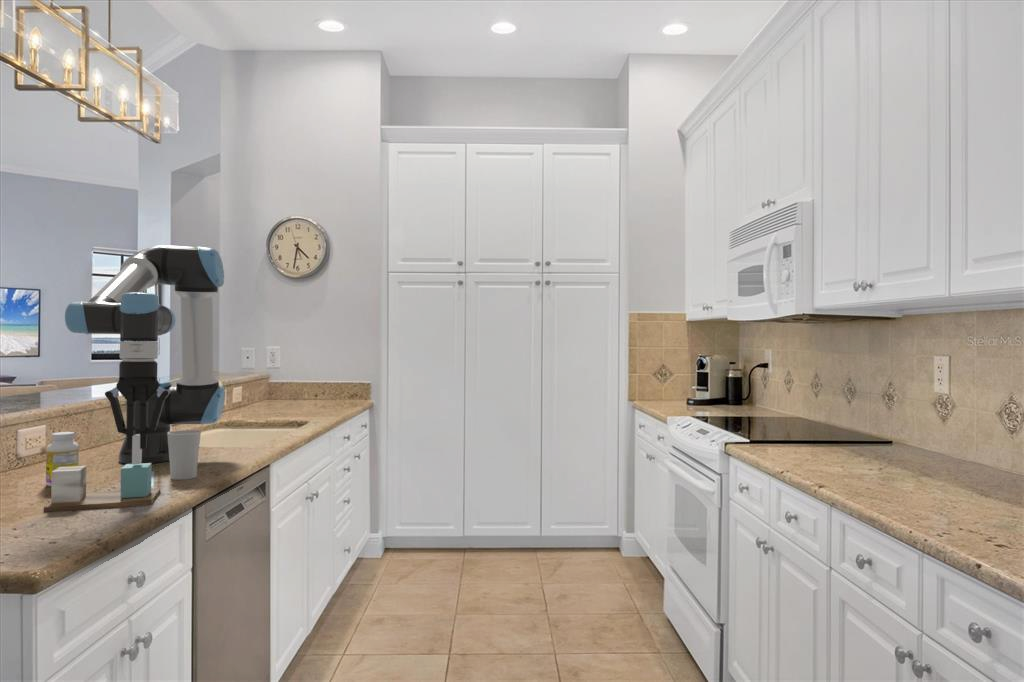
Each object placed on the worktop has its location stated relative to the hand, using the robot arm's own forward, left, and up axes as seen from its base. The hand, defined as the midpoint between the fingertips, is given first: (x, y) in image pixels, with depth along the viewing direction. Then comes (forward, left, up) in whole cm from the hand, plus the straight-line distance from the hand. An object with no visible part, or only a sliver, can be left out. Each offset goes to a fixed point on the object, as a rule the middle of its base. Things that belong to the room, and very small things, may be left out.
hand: (136, 463), depth 144 cm
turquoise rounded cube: (0, 0, -7) cm, 7 cm away
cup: (-23, +7, -9) cm, 26 cm away
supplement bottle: (-22, -20, -9) cm, 31 cm away
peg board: (0, -6, -8) cm, 10 cm away
